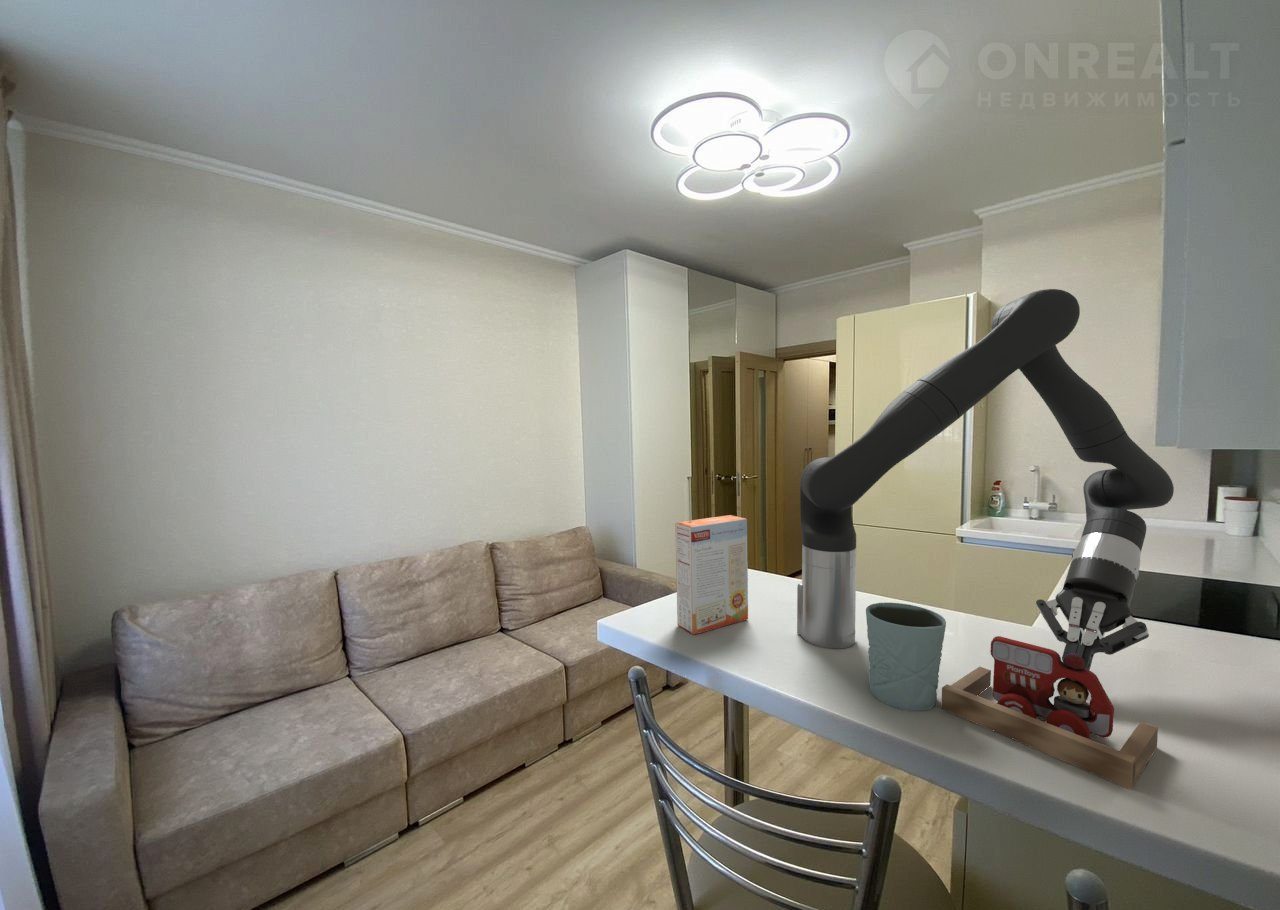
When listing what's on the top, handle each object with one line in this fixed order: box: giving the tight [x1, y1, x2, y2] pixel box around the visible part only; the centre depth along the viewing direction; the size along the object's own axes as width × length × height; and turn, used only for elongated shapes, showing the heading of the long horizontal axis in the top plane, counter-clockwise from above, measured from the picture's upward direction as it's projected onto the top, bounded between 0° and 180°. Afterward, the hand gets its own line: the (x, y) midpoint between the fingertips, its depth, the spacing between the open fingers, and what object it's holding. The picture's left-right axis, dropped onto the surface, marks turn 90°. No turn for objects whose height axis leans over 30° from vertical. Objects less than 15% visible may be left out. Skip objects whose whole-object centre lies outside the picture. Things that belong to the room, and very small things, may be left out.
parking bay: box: [941, 666, 1159, 790], centre depth 64 cm, size 19×12×3 cm, turn 35°
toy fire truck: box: [990, 635, 1115, 739], centre depth 64 cm, size 7×12×10 cm, turn 42°
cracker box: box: [674, 514, 749, 635], centre depth 99 cm, size 14×6×21 cm, turn 120°
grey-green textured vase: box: [865, 602, 947, 712], centre depth 72 cm, size 10×10×12 cm
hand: (1073, 670), depth 70 cm, fingers closed
